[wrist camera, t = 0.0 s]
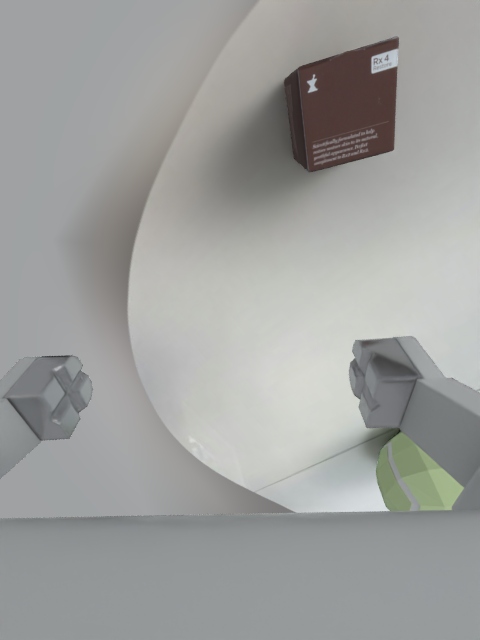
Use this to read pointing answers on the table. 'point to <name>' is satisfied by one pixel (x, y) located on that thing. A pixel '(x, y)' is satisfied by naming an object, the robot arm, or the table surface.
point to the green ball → (413, 478)
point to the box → (344, 106)
